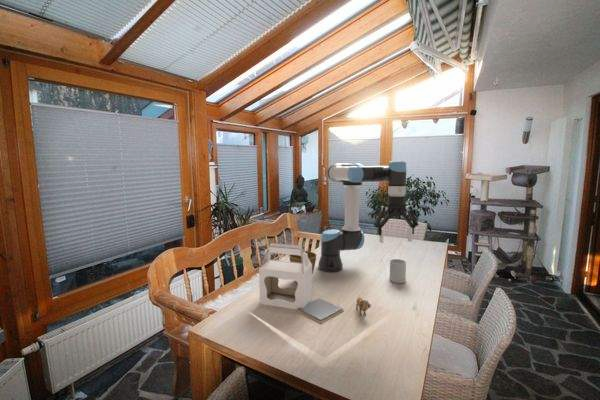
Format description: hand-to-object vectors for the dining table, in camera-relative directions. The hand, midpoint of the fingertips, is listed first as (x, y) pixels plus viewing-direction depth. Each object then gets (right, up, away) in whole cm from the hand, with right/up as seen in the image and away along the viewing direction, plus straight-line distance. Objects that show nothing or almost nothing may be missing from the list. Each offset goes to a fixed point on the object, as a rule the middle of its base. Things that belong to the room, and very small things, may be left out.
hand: (395, 241), depth 132 cm
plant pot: (-42, -27, +28) cm, 57 cm away
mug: (+12, -26, +31) cm, 43 cm away
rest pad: (-35, -30, -4) cm, 46 cm away
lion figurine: (-17, -30, -6) cm, 35 cm away
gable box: (-50, -30, +6) cm, 59 cm away
